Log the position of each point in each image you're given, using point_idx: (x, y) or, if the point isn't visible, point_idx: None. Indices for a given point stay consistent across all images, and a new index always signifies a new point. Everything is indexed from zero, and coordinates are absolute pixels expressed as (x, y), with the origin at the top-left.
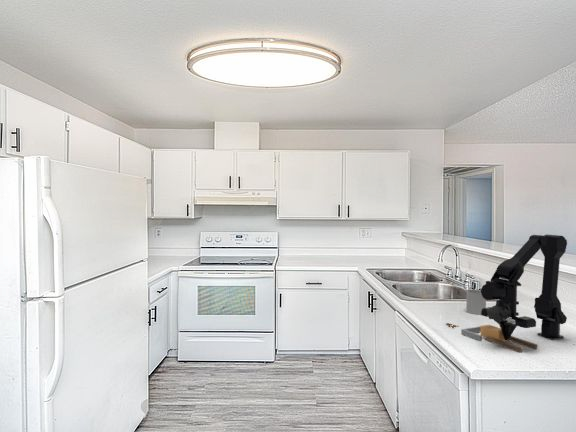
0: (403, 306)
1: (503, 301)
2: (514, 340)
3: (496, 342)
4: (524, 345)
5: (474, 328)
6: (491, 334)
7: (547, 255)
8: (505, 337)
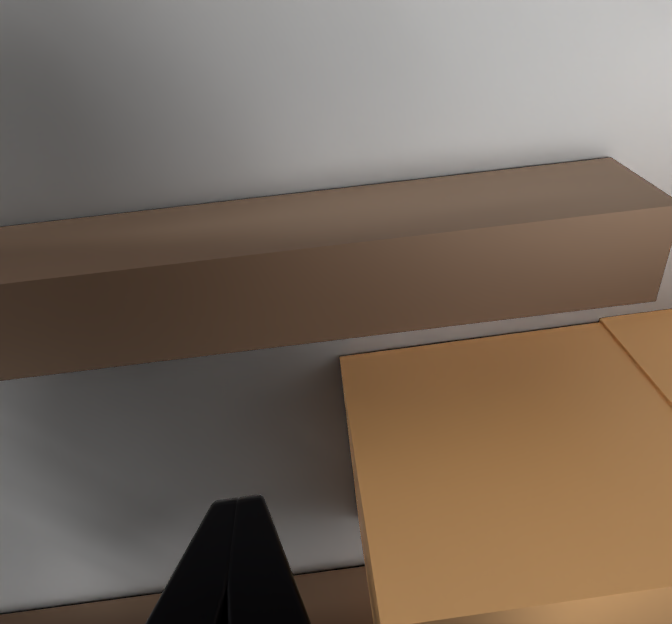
0: None
1: None
2: None
3: (226, 220)
4: (52, 608)
5: None
6: (606, 418)
7: None
8: (229, 549)
